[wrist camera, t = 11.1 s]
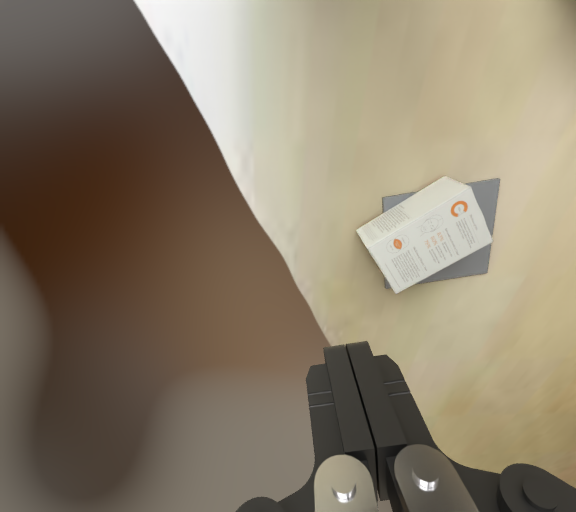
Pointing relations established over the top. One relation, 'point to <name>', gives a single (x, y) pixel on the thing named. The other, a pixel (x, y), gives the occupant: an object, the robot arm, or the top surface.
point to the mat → (477, 260)
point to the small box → (426, 233)
